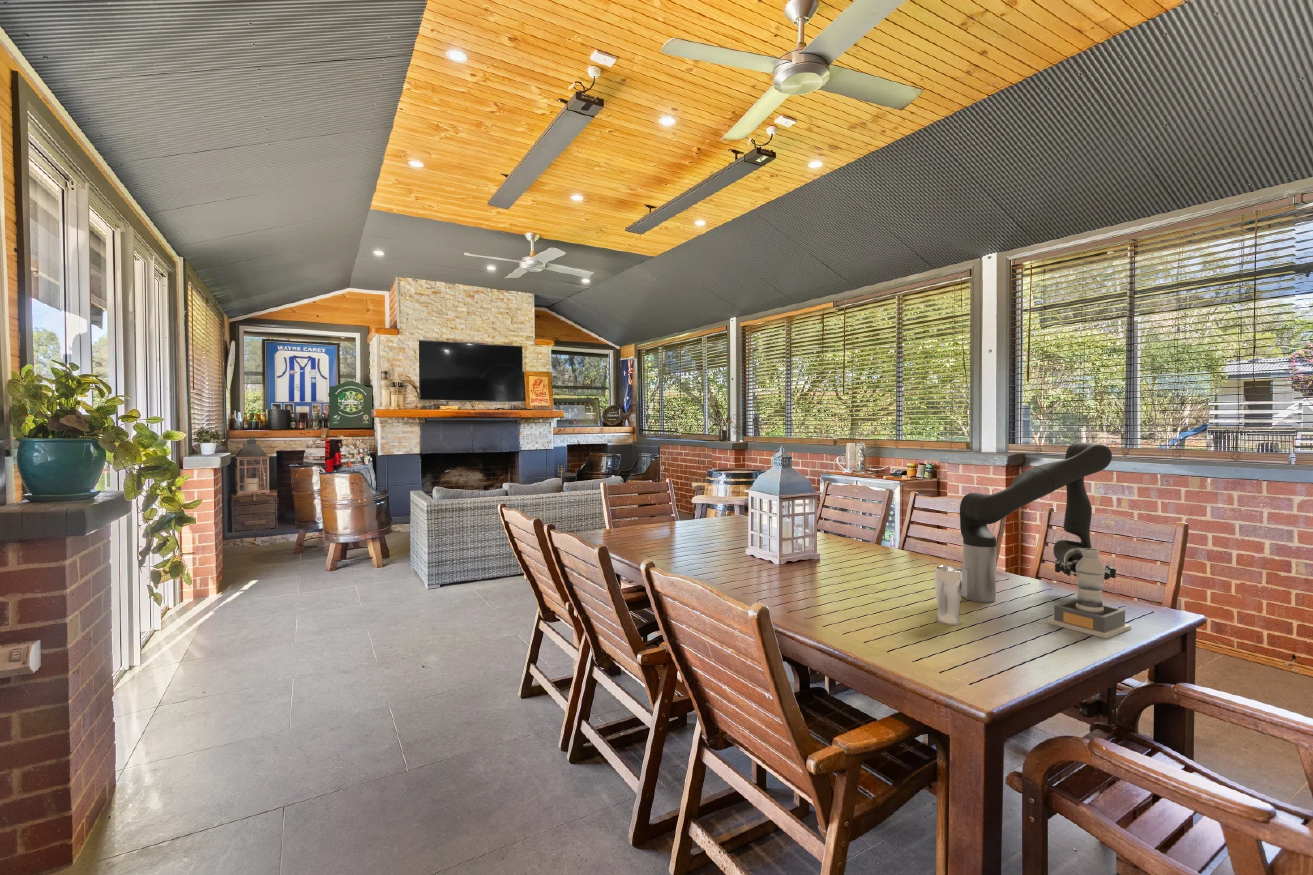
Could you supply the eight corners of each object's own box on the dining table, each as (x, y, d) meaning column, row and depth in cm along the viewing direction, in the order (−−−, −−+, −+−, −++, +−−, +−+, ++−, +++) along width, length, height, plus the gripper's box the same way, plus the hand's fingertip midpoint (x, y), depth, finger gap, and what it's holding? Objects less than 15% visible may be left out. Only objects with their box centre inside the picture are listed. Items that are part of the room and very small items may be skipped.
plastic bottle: (1109, 626, 160) (1111, 552, 160) (1081, 625, 162) (1082, 551, 161) (1097, 619, 167) (1098, 547, 166) (1069, 617, 168) (1071, 546, 167)
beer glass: (961, 619, 169) (962, 566, 169) (962, 627, 163) (963, 572, 163) (934, 616, 172) (934, 564, 172) (934, 623, 166) (934, 569, 166)
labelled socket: (1107, 638, 154) (1107, 619, 154) (1048, 623, 166) (1048, 605, 166) (1130, 628, 162) (1131, 610, 162) (1073, 614, 174) (1073, 597, 173)
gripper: (1051, 547, 184) (1057, 558, 170) (1109, 552, 177) (1119, 563, 163) (1051, 571, 185) (1056, 584, 170) (1108, 577, 178) (1119, 591, 163)
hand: (1087, 574), depth 167 cm, fingers open, 8 cm apart
